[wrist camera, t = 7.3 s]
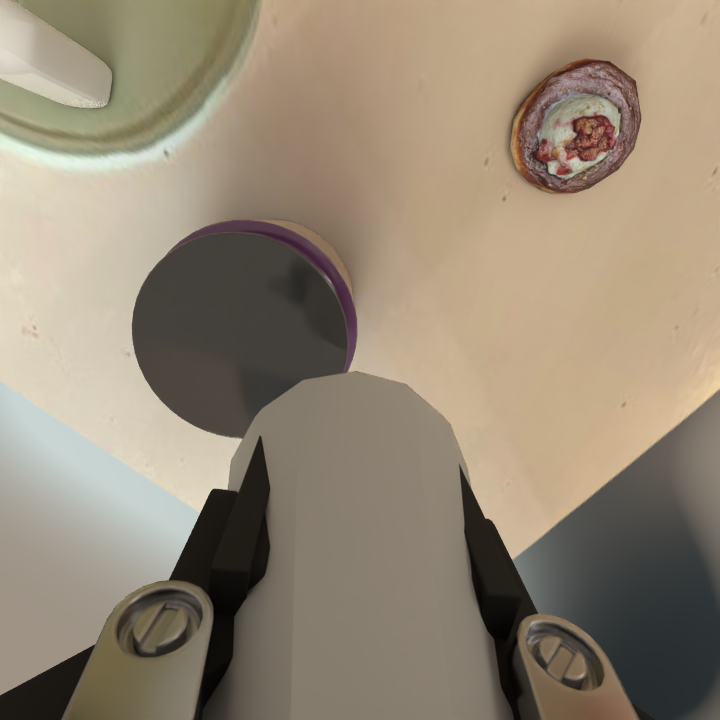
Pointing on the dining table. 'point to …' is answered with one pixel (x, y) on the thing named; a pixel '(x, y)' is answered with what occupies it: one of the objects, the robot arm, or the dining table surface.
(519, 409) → the dining table surface
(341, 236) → the dining table surface
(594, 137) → the pastry
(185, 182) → the dining table surface
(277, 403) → the salt shaker
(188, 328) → the jar
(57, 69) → the eye dropper bottle
